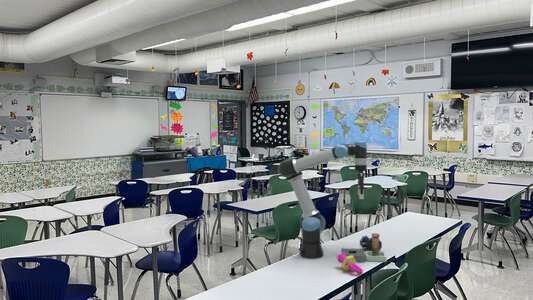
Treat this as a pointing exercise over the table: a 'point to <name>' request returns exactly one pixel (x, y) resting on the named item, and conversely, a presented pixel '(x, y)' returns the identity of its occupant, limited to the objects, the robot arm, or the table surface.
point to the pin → (375, 244)
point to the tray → (375, 257)
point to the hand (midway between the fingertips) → (360, 197)
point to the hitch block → (355, 254)
